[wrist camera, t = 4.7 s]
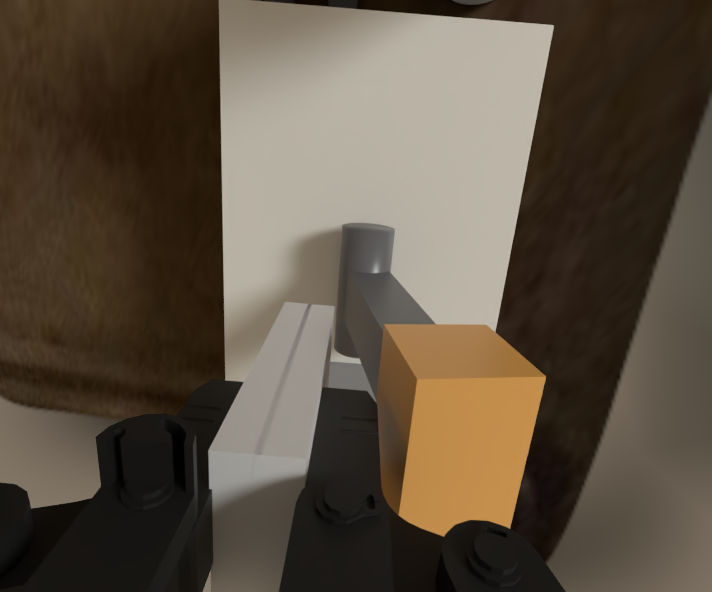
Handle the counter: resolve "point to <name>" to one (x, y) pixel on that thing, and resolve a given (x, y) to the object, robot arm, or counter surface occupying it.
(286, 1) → the parallel rod pair
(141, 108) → the counter surface
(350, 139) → the block
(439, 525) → the lever
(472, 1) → the lotion bottle
